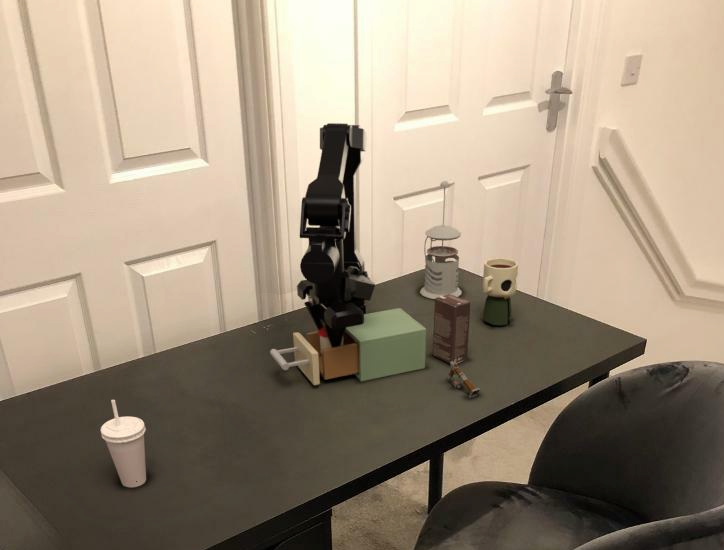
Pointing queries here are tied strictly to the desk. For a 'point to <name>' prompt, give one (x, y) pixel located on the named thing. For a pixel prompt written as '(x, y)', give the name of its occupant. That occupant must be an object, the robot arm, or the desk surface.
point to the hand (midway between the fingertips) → (331, 345)
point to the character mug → (499, 289)
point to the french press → (441, 261)
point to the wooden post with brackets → (462, 378)
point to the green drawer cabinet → (388, 344)
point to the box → (451, 328)
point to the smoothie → (126, 447)
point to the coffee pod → (325, 340)
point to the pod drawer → (321, 357)
